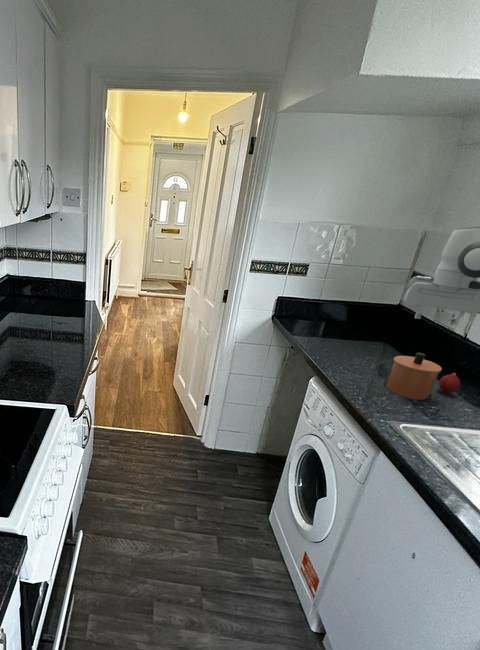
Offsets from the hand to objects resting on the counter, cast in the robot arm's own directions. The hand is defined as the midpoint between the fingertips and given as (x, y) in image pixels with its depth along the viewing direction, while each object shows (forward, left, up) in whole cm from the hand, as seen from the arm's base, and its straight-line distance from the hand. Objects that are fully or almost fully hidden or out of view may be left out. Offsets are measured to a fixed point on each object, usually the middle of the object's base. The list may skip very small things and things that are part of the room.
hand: (434, 321), depth 138 cm
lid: (0, 0, -16) cm, 16 cm away
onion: (-12, -8, -27) cm, 30 cm away
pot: (0, 0, -26) cm, 26 cm away
